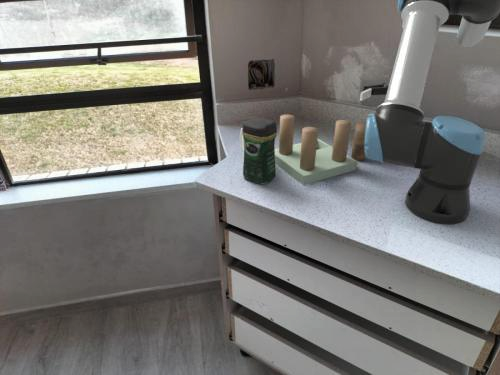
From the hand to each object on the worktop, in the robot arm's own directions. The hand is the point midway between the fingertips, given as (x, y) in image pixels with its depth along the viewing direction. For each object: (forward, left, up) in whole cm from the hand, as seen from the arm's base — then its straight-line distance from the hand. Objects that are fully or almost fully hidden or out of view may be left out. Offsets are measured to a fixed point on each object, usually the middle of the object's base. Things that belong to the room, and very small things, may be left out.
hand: (380, 101), depth 119 cm
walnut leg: (-3, +9, -17) cm, 20 cm away
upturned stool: (+1, +25, -17) cm, 31 cm away
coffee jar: (+1, +44, -17) cm, 48 cm away
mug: (+11, +42, -17) cm, 47 cm away
